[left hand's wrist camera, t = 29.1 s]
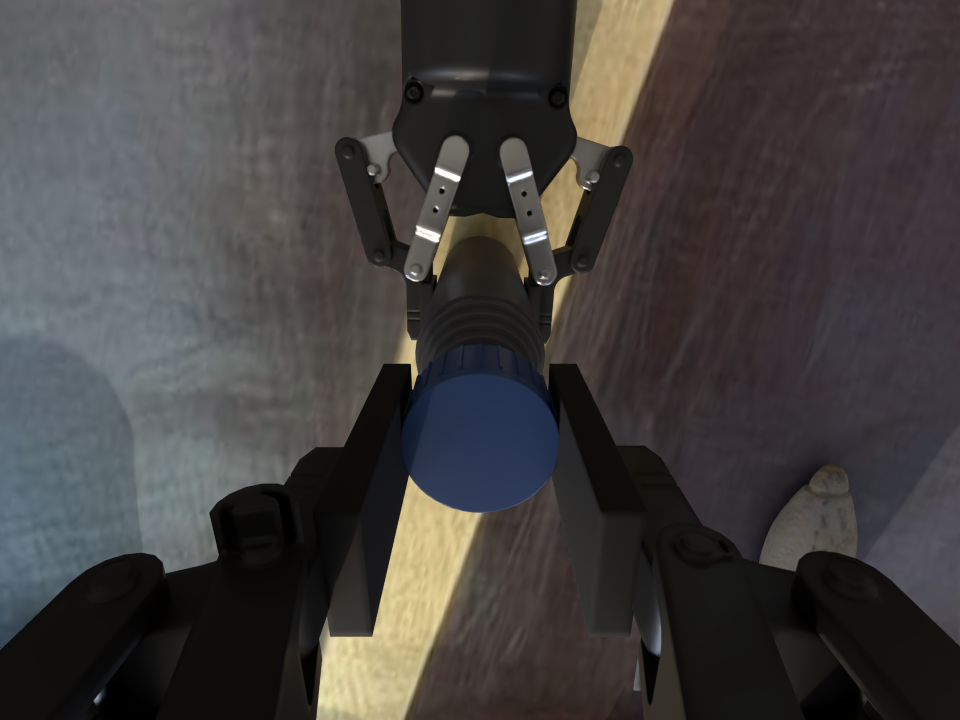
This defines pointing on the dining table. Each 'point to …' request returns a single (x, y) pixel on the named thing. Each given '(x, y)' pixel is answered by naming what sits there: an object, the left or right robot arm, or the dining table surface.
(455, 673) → the dining table surface
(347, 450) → the left robot arm
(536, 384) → the cap
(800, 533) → the decorative stone
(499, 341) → the bottle
